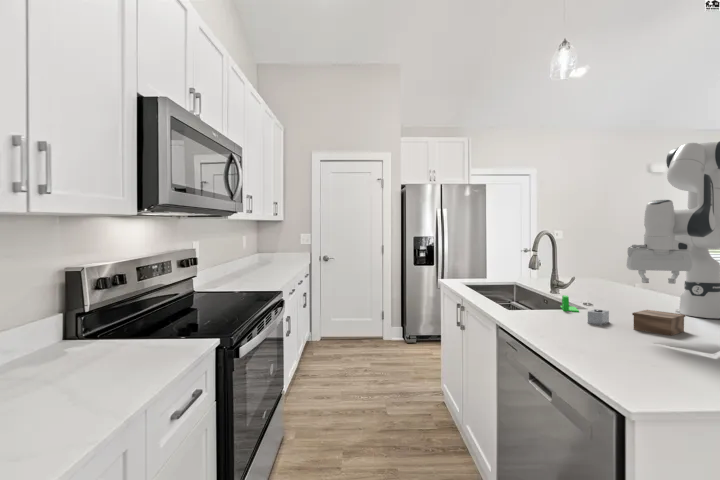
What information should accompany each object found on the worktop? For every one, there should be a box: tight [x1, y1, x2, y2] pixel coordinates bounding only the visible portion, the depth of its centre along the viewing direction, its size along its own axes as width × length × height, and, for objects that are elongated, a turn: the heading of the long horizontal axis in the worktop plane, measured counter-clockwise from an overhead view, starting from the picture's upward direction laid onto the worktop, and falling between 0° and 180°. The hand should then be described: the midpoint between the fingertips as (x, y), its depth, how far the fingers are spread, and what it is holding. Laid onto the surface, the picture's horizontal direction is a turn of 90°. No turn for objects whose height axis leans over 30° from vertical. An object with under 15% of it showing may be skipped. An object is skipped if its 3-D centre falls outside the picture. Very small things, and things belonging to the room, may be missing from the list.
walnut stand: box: [631, 309, 686, 337], centre depth 146 cm, size 12×12×6 cm
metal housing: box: [587, 308, 610, 326], centre depth 157 cm, size 8×5×5 cm, turn 133°
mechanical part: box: [559, 295, 580, 313], centre depth 182 cm, size 12×6×8 cm, turn 161°
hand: (658, 283), depth 146 cm, fingers open, 7 cm apart
